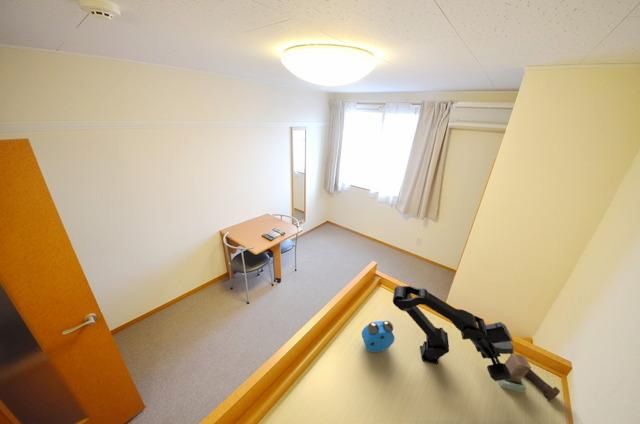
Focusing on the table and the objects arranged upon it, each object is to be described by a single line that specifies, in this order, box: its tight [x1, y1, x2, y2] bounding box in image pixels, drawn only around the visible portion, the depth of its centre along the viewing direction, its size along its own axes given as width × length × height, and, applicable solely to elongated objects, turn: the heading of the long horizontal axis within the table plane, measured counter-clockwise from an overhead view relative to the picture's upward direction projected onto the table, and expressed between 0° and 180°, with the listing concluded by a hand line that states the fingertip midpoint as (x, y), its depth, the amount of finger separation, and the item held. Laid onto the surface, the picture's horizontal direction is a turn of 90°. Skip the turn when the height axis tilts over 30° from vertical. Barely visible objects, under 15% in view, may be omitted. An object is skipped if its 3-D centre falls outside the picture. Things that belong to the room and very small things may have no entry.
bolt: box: [525, 369, 561, 401], centre depth 91 cm, size 6×5×15 cm
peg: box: [503, 353, 532, 384], centre depth 89 cm, size 4×4×13 cm
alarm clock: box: [361, 320, 395, 353], centre depth 98 cm, size 13×6×15 cm, turn 100°
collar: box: [497, 378, 528, 393], centre depth 91 cm, size 8×8×3 cm
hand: (500, 365), depth 89 cm, fingers open, 9 cm apart
